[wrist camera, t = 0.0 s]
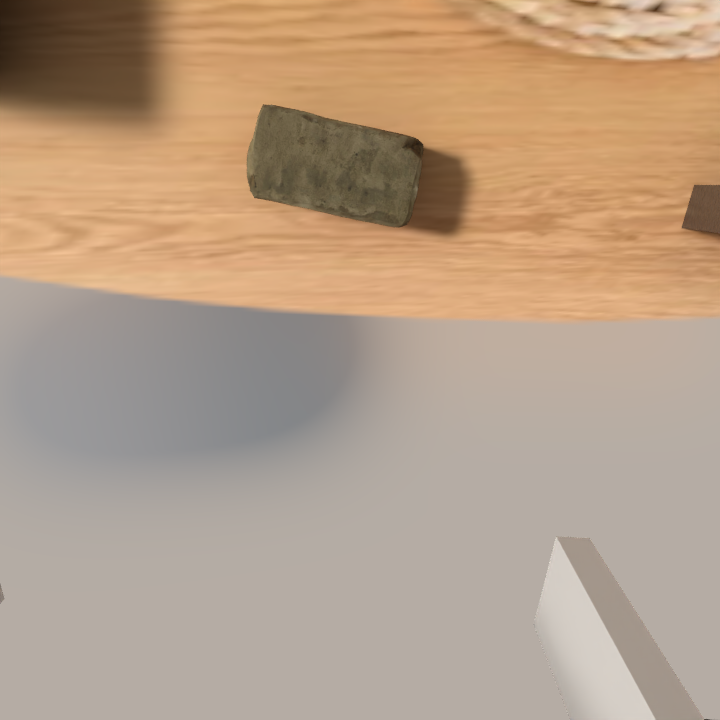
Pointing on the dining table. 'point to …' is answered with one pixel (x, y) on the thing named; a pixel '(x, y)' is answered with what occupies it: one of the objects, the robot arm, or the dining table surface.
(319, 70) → the dining table surface
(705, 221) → the backstop wall
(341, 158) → the stone block
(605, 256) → the dining table surface
